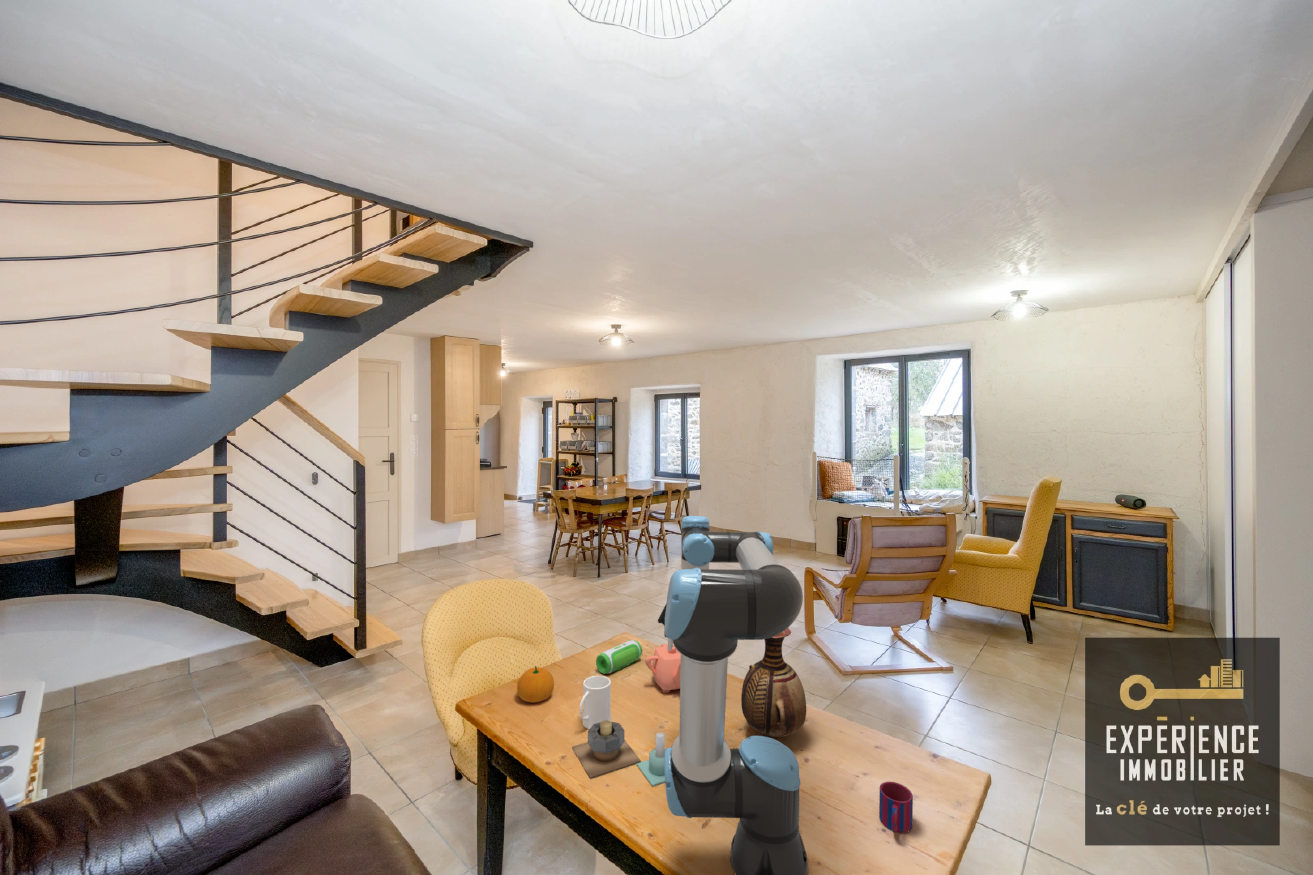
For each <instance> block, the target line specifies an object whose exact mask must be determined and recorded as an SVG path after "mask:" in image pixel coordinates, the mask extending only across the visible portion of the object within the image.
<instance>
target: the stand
mask: <svg viewBox="0 0 1313 875" xmlns="http://www.w3.org/2000/svg"><path fill="white" fill-rule="evenodd" d="M666 749H667V748H666V734H665V733H664V732H657V733H655V748H653V749H651V750H650V752H649V756H648V758H649V759H646V760H644V761H641V762H640V763H637V764H636V766H637V768H638V770H640V772H641V773H642V774H643V776H644V777H645V778H646V780H647V782H648V783H649V784H650V786H652V788H653V787H656V786H658V785H661V784H664V783H665V771H664V757H665V751H666Z"/></svg>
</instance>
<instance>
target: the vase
mask: <svg viewBox="0 0 1313 875" xmlns="http://www.w3.org/2000/svg"><path fill="white" fill-rule="evenodd" d="M791 633H792V631H791V629H790V627H788V628H787V629H786V630H784V631H783V632H781V633H780V634H778V635H776V636H774V637H771V638H767V639H763V640H764V652H763V653H764V655H763V657H762V659H761V660H758V661H757V662H755V663H754V664H753V665H752V664H750V665H749V666H748V667H749V669H748V670H747V673H746V675H745V677H744V680H743V683H742V688H741V697H740V698H741V699H740V700H741V711H742V714H743V717H744V719H745V721H746V723H748V725H749V726H750V727H751V728H752V729H754V730H756V732H758V733H760V734H762V735H764V736H767V737H768V736H769V737H785V736H788V735H792V734H796V733H797V732H799V731H800V730H801V729H802V728H803V726H804V724H805V721H806V718H807V698H806V692H805V689H804V687H803V684H802V681H801V679H800V677H799V675H798V673H797V672H796V670H795V669H794V668H793V666H791V665H790V664H788V663H787V662H785V660H784V657H783V643H784V641H785V640H784V639H785V638H786V637H788V636H790V635H791Z"/></svg>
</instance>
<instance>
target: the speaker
mask: <svg viewBox="0 0 1313 875" xmlns="http://www.w3.org/2000/svg"><path fill="white" fill-rule="evenodd" d="M642 654H643V647H642V645H641V643H640V641H637V640H636V639H635V640H633V639H632V640H627V641H625V642H623V643H620V644H618V645H615V646H614V647H611V648H609V649H607V650H604V651H602V652H601V653H599V654H598V655H597V657H596V658H595V659H596V660H595V663H596V664H595V665H596V667H597V670H598V672H599V673H600V674H602V675H604V674H610V673H613V672H614V673H615V672H617V671H619V670H621V669H623V668H625V667H627V666H629V665H631V664H632V663H634V662H636V661H638V660H639V659H640V658H641V656H642Z"/></svg>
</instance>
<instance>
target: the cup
mask: <svg viewBox="0 0 1313 875" xmlns="http://www.w3.org/2000/svg"><path fill="white" fill-rule="evenodd" d="M878 800H879V803H878V804H879V807H878V808H879V809H878V810H879V811H878V812H879V813H878V814H879V815H878V818H879V821H880V822H881V824H882V825H883V826H884V827H885V828H886V827H887V828H886V829H888V830H889V829H890V831H891V830H892V831H891V832H894V833H897V832H898V833H897V834H907V833H909V832H911V831H912V829H913V821H914V820H913V812H914V811H913V808H914V805H913V804H914V802H913V800H914V796H913V793H912V791H911V790H910V789H909V788H908V787H907V786H906V785H903V784H901V783H899V782H895V781H885V782H882V783H880V785H879V798H878ZM910 830H911V831H910ZM908 831H909V832H908ZM906 832H907V833H906Z"/></svg>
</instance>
